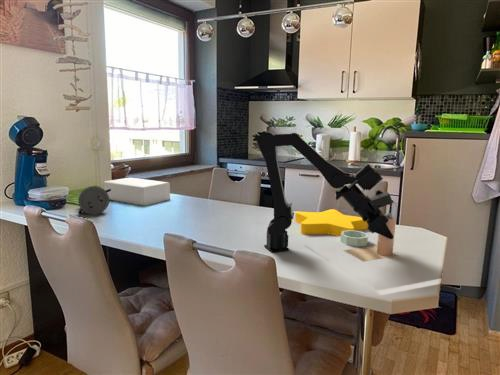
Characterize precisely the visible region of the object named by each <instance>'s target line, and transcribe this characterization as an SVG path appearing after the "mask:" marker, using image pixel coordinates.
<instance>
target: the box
mask: <svg viewBox="0 0 500 375" xmlns="http://www.w3.org/2000/svg"><path fill="white" fill-rule="evenodd" d="M103 189H104V190H105V191H106V190H108V189H111V191H110V192H107V194H108V196H109V201H110V200H112V201H117V202H122V203H127V204H132V203H133V205H138V204H139V206H143V205H145V206H149V205H153V204H156V203H160V202H161V203H162V202H165V200H166V201H169V199H171V183H170V181H169V182H167V181H160V180H152V179H145V178H144V179H143V178H138V177H137V178H136V177H125V178H117V179H110V180H106V181H105V180H104V181H103Z"/></svg>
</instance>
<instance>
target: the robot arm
mask: <svg viewBox="0 0 500 375" xmlns="http://www.w3.org/2000/svg"><path fill="white" fill-rule="evenodd" d="M257 146H258V148H259V151H260V154H261V155H262V158H263V159H264V161H265V166H266V169H267V175H268V179H269V184H270V189H271V194H272V200H273V218H272V219H271V220H270V221H269V223H268V226H267V230H266V244H263V245H264V246H263V247H265V249H267V250H268V251H270V252H271V253H279V252H286V251H287V252H288V251H290V249H289V235H288V231H287V229H289V228H291V225H292V222H293V219H294V218H295V212H294V211H293V203H292V202H290V203H288V202H287V199H286V197H285V196H286V195H285V190H284V186H283V182H282V176H281V170H280V165H279V161H278V147H285V146H292V147H293V148H294V149H295V150H296V151H297V152H299V153H300V155H302V156H303V157H304V158H306V160H307V161H309V162H310V163H311V164H312V165H313V167H314V168H316V169H317V170H318V171H319V173H320V174H322V176H323V177H324V178H323V179H325V180H326V182H327V183H328V184H329V186H330V187H331V188H333V189H335V190H334V192H335V196H334V197H335V201H337V200H339V199H341V198H343V200H344V201H345V202H346V203H347V204H348V205H349V206H350V207H351V208H352V210H353V211H354V212H355V213H357V215H358V217H361V218H362V220H363V221H364V222H365V221H366V220H367V221H366V222H367V223H366V226H367V230H368V231H369V232H370V233H371V234H375V233H376V234H380V235H382V236H385V237H387V238H389V239H393V238H394V239H395V235H394V236H393V235H392V233H391V232H390V230H389V228H388V227H387V225H386V223H387V222H388V219H387V217H386V216H385V215H384V214H385V213H383V212H382V210H381V209H380V208H382V207H383V208H384V207H386V206H390V205H392V204H394V202H393V200H392V197H391V195H390V193H389V192H388V191H382V190H380V189H378V190H375V192H374V195H373V196H372V197H369V196H368V195H366V194H365V192H363V191H371V190H372V189H373V188H374V187H375V186H377V185H378V184H379V183H381V181H383V180H384V178H383V177H382V176H381V175H380V173H379V172H378V171H376V170H375V169H374V168H373V167H371V165H370V164H368V163H365V165H363V167H362V168H361V169H360V170H358V171H357V173H355V174H354V173H349V172H345V171H344V170H343V169H341V168H339V167H338V166H336V165H335V164H333V163H331V162H330V161H328V160H326V159H325V158H324V157H323V156H322V155H321V154H320V153H318V152H317V151H316V150H315V149H314V148H313V147H312V146H311V145H310V144H309V143H308V142H306V141H305V140H304V139H303V138H302V137H301V136H300V134H299V133H298V132H292V133H279V134H275V133H274V132H272V131H264V132H262V133H260V135H259V136H258V137H257ZM357 185H358V186H357ZM359 187H360V188H361V189H362V190H363V191H362V190H361V189H360V188H359Z"/></svg>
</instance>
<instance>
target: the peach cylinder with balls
mask: <svg viewBox="0 0 500 375" xmlns="http://www.w3.org/2000/svg"><path fill="white" fill-rule="evenodd" d="M383 214H384V215H385V216H386V217H387V219H388V222H387V223H386V225H387V227H388V228H389V230H390V232H391V233H392V235H393V236H394V238H393V239H389V238H387V237H385V236H382V235H380V234H378V233H377V234H378V235H377V244H376V246H377V254H379V255H382V256H392V255H393V253H394V244H395V234H396V233H395V232H396V224H397V223H396V222H397V221H396V220H397V218H396V217H395V216H393V213H391V212H388V213H383Z"/></svg>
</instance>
